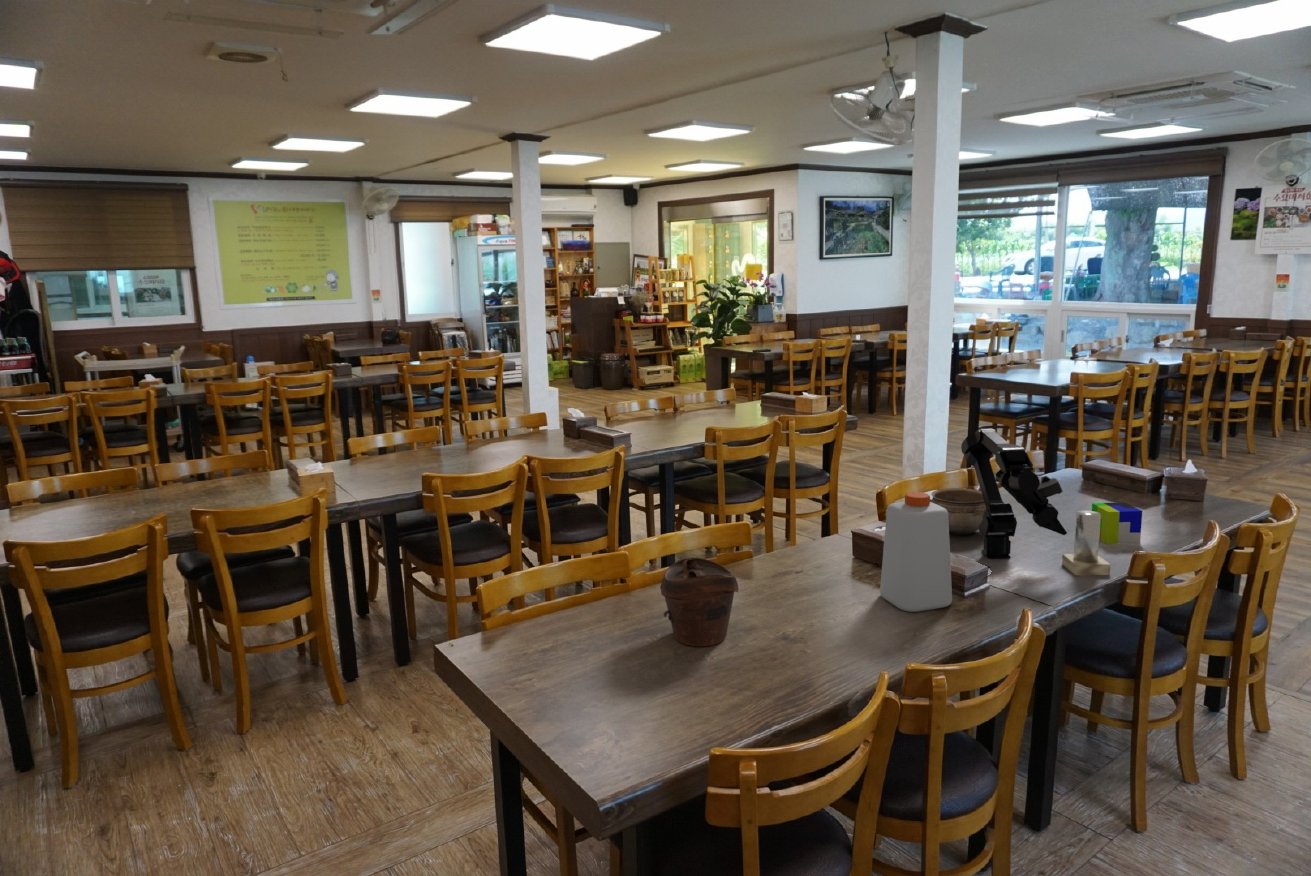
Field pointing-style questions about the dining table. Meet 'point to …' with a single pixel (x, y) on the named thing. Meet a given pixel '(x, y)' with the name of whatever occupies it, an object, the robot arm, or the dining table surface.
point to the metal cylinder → (1087, 536)
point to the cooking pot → (961, 508)
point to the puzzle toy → (1119, 522)
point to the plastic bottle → (916, 555)
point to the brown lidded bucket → (698, 600)
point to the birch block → (1085, 566)
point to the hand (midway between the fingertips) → (1061, 529)
